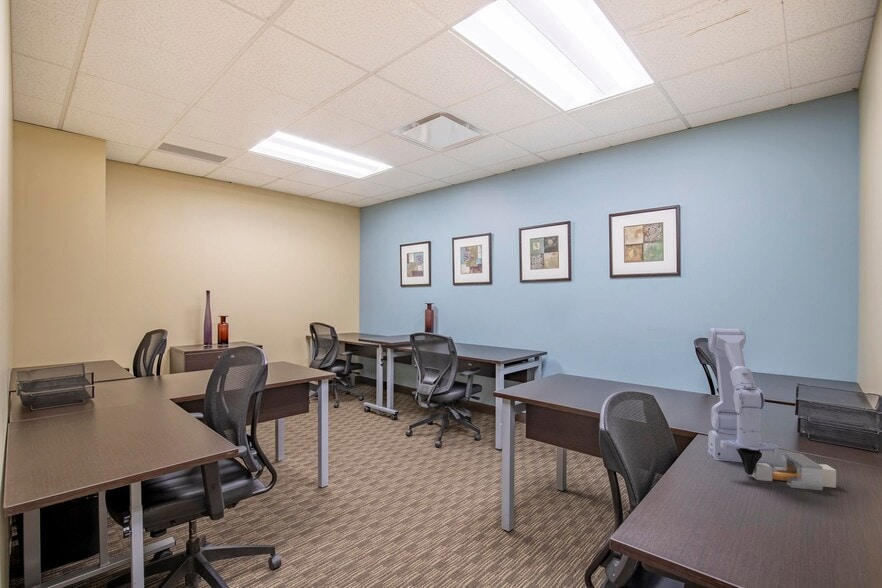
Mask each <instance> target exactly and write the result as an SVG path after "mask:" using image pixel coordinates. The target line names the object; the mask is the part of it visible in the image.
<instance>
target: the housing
mask: <svg viewBox="0 0 882 588" xmlns="http://www.w3.org/2000/svg"><path fill="white" fill-rule="evenodd" d="M772 472H782V473H793V474H797V478H792V477H787V481H786V484H787V486H789V487H790V488H792V489H803V490H804V489H805V490H813V491H815V490H816V491H823V489H824V487H823V467H822V466H820V465H819V463H817V462H815V461H814V460H812V459H810V457H808V456H806V455H805V454H803V453H798V452H797V453H796V452H784V451H781V466H772Z"/></svg>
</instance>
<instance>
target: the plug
mask: <svg viewBox="0 0 882 588" xmlns="http://www.w3.org/2000/svg"><path fill="white" fill-rule="evenodd" d="M818 464H819V463H818ZM819 465H820V466H822V467H823V488H837V470H836V469H835V468H833V467H832V466H830V465H828V464H824V463H820V464H819ZM751 476H752V477H753V478H754V479H755V480H756V481H765V482H773V480H775V481H785V482H787V477H792V478H797V474H793V473H782V472H773V466H770V465H769V464H768V463H763V462H757V464H756V466H755V468H754V471H753V475H751Z"/></svg>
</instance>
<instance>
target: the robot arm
mask: <svg viewBox="0 0 882 588" xmlns="http://www.w3.org/2000/svg"><path fill="white" fill-rule="evenodd" d="M707 333H708V334H707V341H708V342H707V343H708V349H709V352H710V353H712V354H714V357H715V363H716V373H717V383H718V393H719V394H718V395H719V401H718V402H717V403H715V404H713V405H712V406H711V410H710V411H711V413H710V422H711V426H712V427H713V430H709V431H708V435H707V436H708V437H707V441H708V442H707V444H708V445H707V446H708V450H707V453H708V454H709V455H710V456H711V457H713V459H714V460H715V461H723V462H725V461H726V462H736V463H742V464H743V468H744V473H746V474H747V475H749V476H750V475H751V476H752V475H753V471H754V468H755V466H756V464H757V463H759V461H760V460H761V458H762V455H763V453H762V452H772V453H779V446H778V445H777V444H775V443H769V442H768V443H767V442H761V439H762V438H761V410H763V409H764V407H765V397H764V393H763V391H762V389H760V388H759V386H757V385H756V382H755V379H754V376H753V373H752V370H751V369H750V368H748V367H746V362H745V358H744V353H743V349H744V347H745V344H746V340H747V335H746V332H745V331H744V329H743V328H739V327H738V328H724V327H723V328H721V327H720V328H715V327H711V328H710V329H709V330H708V332H707ZM761 451H762V452H761Z"/></svg>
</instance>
